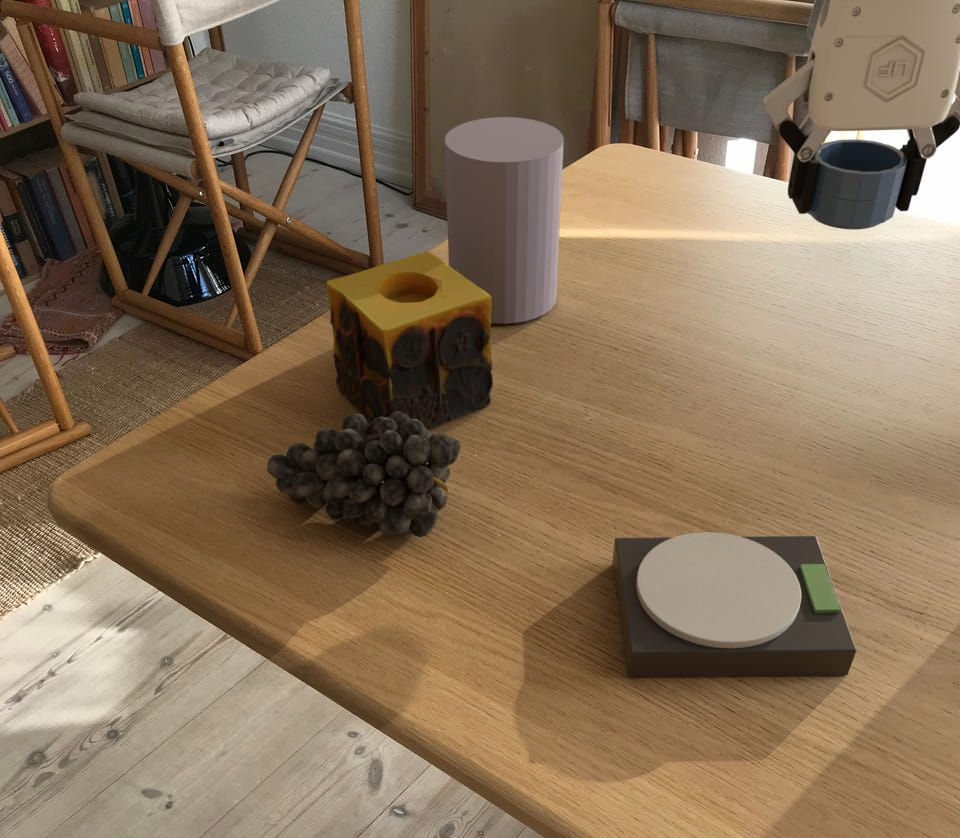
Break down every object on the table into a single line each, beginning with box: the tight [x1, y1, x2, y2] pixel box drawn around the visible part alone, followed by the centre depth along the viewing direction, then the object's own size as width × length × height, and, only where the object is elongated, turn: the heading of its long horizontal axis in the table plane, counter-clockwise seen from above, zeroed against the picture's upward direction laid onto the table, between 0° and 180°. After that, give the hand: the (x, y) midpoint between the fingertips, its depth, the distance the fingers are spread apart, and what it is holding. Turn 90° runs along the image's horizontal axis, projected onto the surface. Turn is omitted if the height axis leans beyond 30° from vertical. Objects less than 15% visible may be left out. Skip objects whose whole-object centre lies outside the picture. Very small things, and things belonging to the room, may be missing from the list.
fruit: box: [266, 411, 462, 538], centre depth 76 cm, size 9×8×15 cm
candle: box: [325, 251, 494, 430], centre depth 85 cm, size 10×10×10 cm
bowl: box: [807, 139, 908, 231], centre depth 82 cm, size 7×7×4 cm
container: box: [444, 116, 565, 326], centre depth 95 cm, size 10×10×15 cm
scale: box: [611, 531, 857, 678], centre depth 69 cm, size 14×11×3 cm
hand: (849, 203), depth 83 cm, fingers closed on bowl, 7 cm apart
